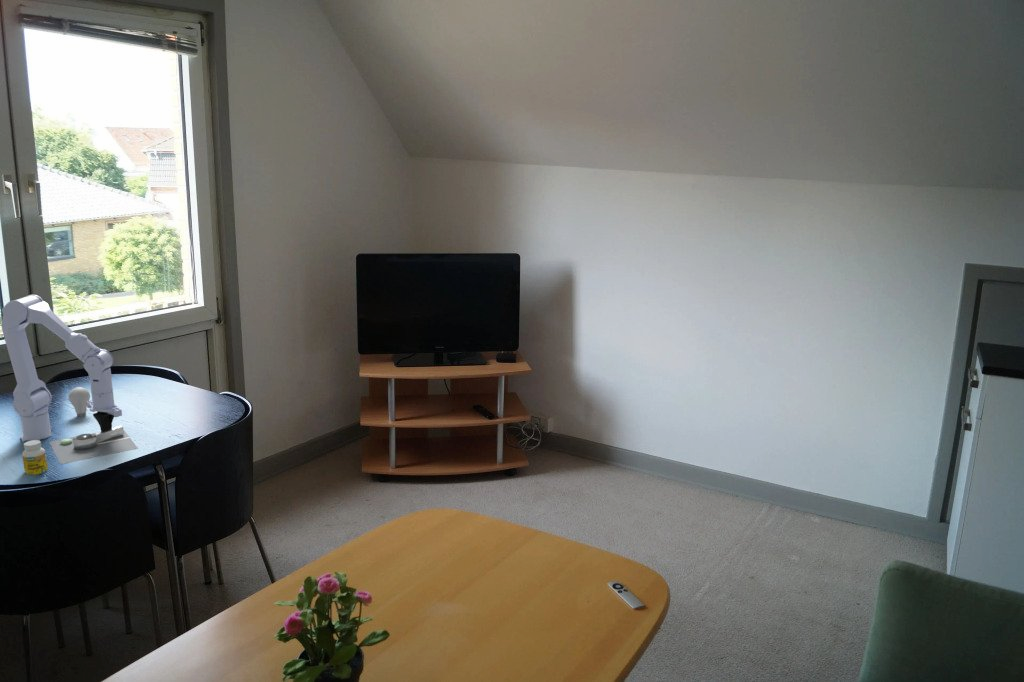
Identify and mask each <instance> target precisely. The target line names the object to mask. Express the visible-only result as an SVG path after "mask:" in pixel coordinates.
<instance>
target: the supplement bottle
mask: <svg viewBox="0 0 1024 682" xmlns="http://www.w3.org/2000/svg"><path fill="white" fill-rule="evenodd" d="M23 449H24V450H23V451H22V461H23V469H24V473H25V474H26V475H29V476H30V475H31V476H33V475H34V476H35V475H39V474H43V473H45V472H47V471H48V470H49V467H48V462H47V461H48V460H47V455H46V450H45V449H44V448H43V447H42V441H40V440H32V441H30V440H27V441H26V442H24V443H23Z"/></svg>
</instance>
